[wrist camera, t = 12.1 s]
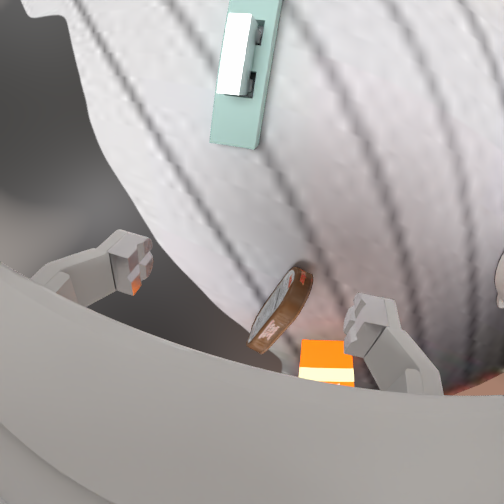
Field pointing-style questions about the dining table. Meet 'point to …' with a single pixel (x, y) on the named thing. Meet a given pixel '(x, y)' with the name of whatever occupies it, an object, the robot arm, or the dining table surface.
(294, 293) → the tin
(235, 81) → the white block
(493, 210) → the dining table surface
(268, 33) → the rail
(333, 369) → the orange juice
